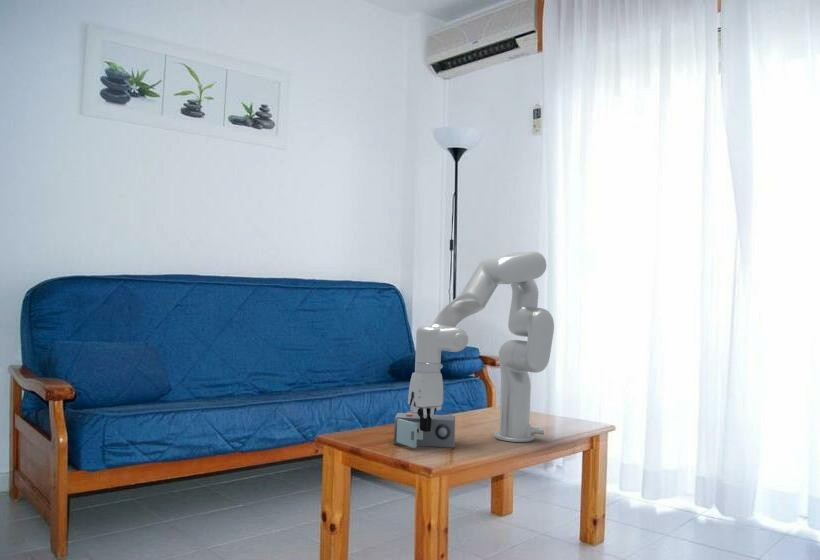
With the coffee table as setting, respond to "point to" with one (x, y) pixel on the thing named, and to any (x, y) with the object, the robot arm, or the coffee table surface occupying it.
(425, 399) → the robot arm
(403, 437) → the side door
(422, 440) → the housing
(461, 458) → the coffee table surface
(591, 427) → the coffee table surface
